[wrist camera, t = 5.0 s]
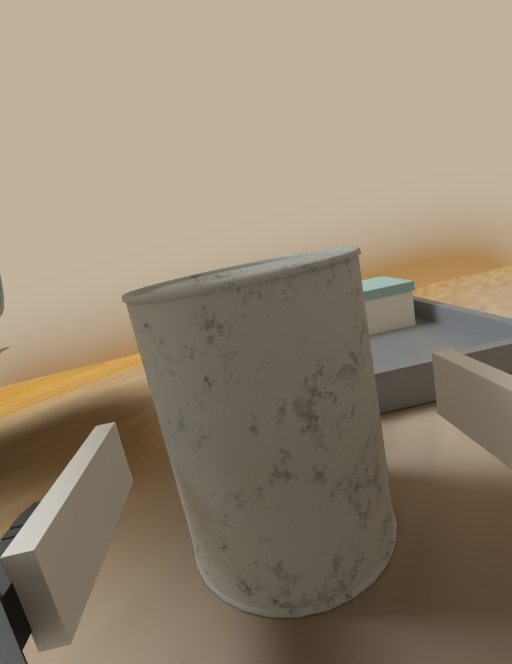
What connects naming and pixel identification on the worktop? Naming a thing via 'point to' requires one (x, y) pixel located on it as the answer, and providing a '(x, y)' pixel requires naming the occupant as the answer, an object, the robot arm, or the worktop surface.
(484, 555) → the worktop surface
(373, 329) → the teal sponge
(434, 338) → the tote tray
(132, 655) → the worktop surface
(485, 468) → the worktop surface
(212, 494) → the speckled grey can
